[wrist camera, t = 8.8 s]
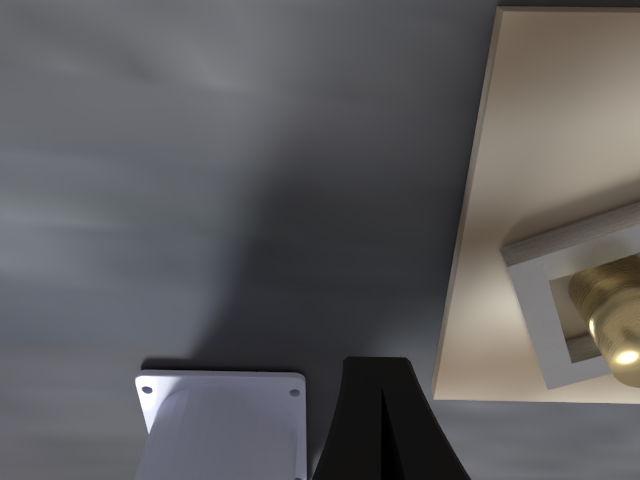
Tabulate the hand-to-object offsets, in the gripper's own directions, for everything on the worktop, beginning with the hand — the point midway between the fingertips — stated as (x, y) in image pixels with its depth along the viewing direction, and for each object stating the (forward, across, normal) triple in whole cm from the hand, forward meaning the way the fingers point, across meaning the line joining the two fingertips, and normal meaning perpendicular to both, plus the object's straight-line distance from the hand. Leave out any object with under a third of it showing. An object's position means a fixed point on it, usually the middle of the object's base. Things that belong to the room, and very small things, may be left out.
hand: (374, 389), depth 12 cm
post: (+9, -10, +4) cm, 14 cm away
